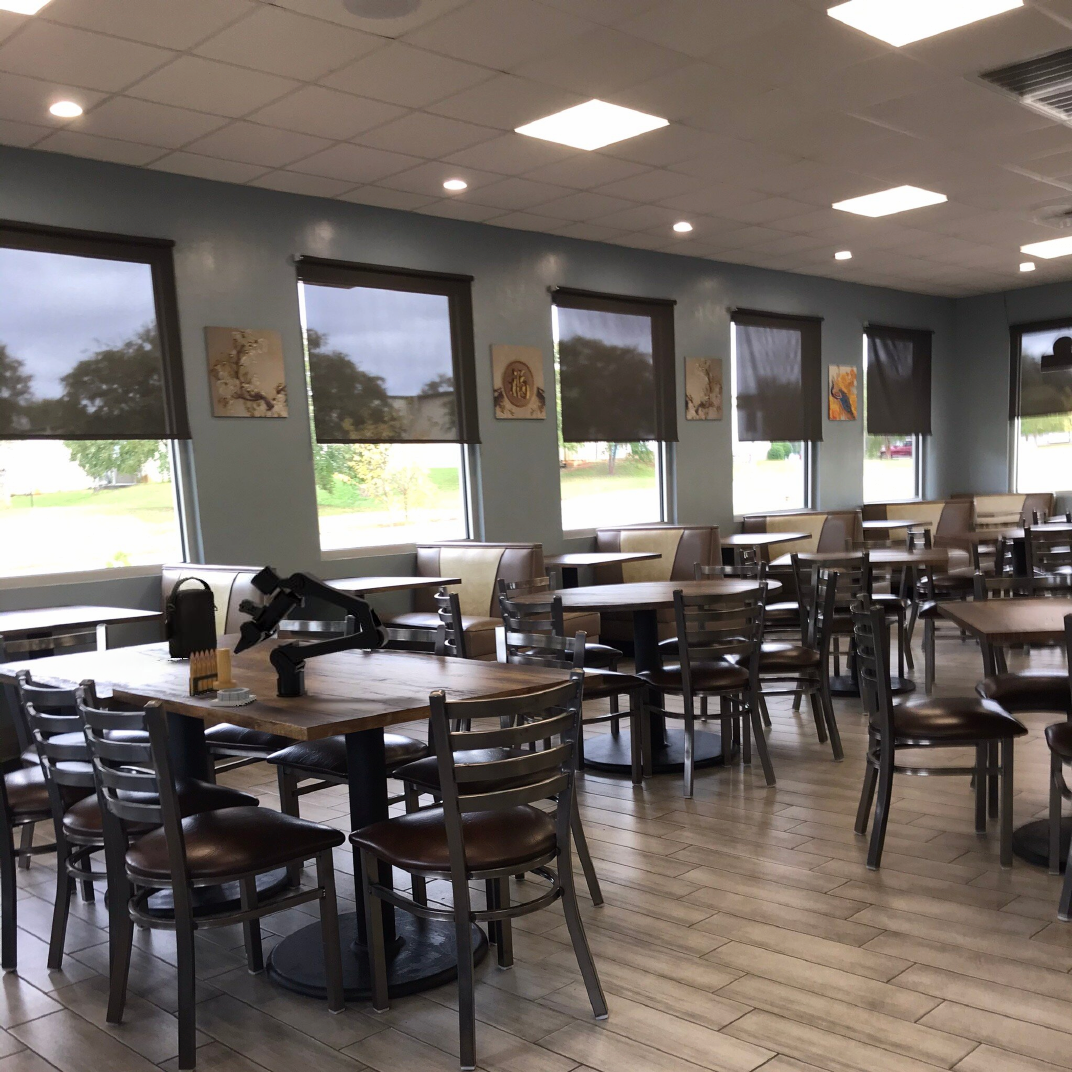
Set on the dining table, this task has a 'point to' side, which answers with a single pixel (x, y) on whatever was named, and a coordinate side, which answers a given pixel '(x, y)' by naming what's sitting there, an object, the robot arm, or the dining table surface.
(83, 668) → the dining table surface
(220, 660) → the tan peg
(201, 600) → the shoulder bag
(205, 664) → the ammunition clip
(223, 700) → the housing
